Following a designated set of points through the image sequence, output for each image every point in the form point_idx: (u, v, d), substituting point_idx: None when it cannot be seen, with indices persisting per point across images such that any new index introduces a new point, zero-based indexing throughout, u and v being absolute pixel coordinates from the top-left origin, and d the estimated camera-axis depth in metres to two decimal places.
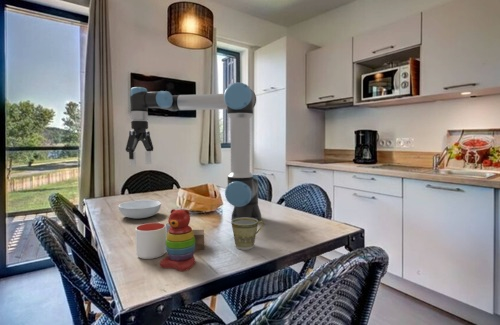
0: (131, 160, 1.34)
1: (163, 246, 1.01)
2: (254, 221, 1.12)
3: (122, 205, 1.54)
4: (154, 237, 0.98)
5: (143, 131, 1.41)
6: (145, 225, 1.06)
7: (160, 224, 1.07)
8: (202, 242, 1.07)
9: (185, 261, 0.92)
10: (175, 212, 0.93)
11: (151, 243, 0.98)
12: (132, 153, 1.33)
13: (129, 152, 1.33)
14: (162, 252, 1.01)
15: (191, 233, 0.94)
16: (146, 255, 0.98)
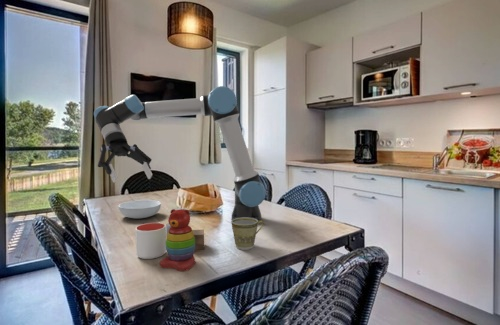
0: (111, 174, 1.05)
1: (163, 246, 1.01)
2: (254, 221, 1.12)
3: (122, 205, 1.54)
4: (154, 237, 0.98)
5: (122, 144, 1.16)
6: (145, 225, 1.06)
7: (160, 224, 1.07)
8: (202, 242, 1.07)
9: (185, 261, 0.92)
10: (175, 212, 0.93)
11: (151, 243, 0.98)
12: (107, 166, 1.05)
13: (104, 167, 1.05)
14: (162, 252, 1.01)
15: (191, 233, 0.94)
16: (146, 255, 0.98)
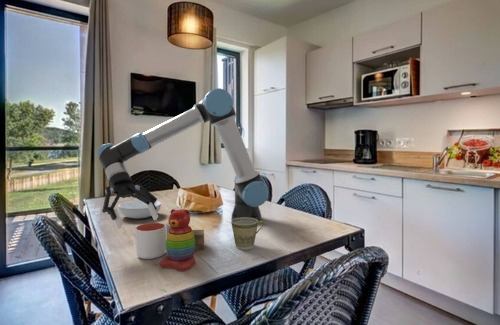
0: (116, 220, 1.02)
1: (163, 246, 1.01)
2: (254, 221, 1.12)
3: (122, 205, 1.54)
4: (154, 237, 0.98)
5: (127, 185, 1.13)
6: (145, 225, 1.06)
7: (160, 224, 1.07)
8: (202, 242, 1.07)
9: (185, 261, 0.92)
10: (175, 212, 0.93)
11: (151, 243, 0.98)
12: (112, 211, 1.02)
13: (109, 212, 1.02)
14: (162, 252, 1.01)
15: (191, 233, 0.94)
16: (146, 255, 0.98)
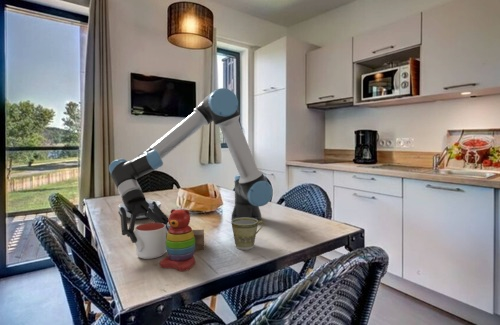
0: (136, 243, 0.98)
1: (163, 246, 1.01)
2: (254, 221, 1.12)
3: (122, 205, 1.54)
4: (154, 237, 0.98)
5: (141, 202, 1.08)
6: (145, 225, 1.06)
7: (160, 224, 1.07)
8: (202, 242, 1.07)
9: (185, 261, 0.92)
10: (175, 212, 0.93)
11: (151, 243, 0.98)
12: (132, 234, 0.98)
13: (129, 235, 0.98)
14: (162, 252, 1.01)
15: (191, 233, 0.94)
16: (146, 255, 0.98)
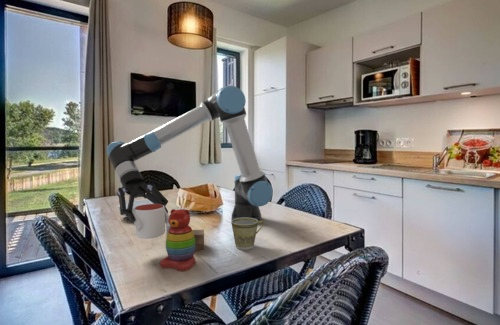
0: (135, 223, 0.97)
1: (162, 226, 1.01)
2: (254, 221, 1.12)
3: None
4: (153, 217, 0.98)
5: (139, 183, 1.08)
6: (144, 206, 1.05)
7: (159, 205, 1.06)
8: (202, 242, 1.07)
9: (185, 261, 0.92)
10: (175, 212, 0.93)
11: (150, 223, 0.97)
12: (131, 213, 0.97)
13: (127, 215, 0.98)
14: (161, 232, 1.00)
15: (191, 233, 0.94)
16: (145, 235, 0.97)
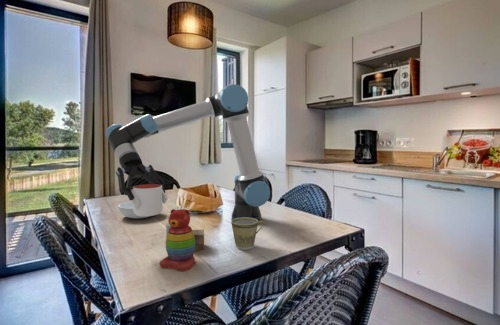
0: (134, 200, 1.01)
1: (159, 205, 1.05)
2: (254, 221, 1.12)
3: (122, 205, 1.54)
4: (151, 195, 1.01)
5: (137, 164, 1.11)
6: (142, 186, 1.09)
7: (156, 185, 1.10)
8: (202, 242, 1.07)
9: (185, 261, 0.92)
10: (175, 212, 0.93)
11: (148, 201, 1.01)
12: (129, 192, 1.01)
13: (126, 193, 1.02)
14: (158, 210, 1.04)
15: (191, 233, 0.94)
16: (143, 212, 1.01)
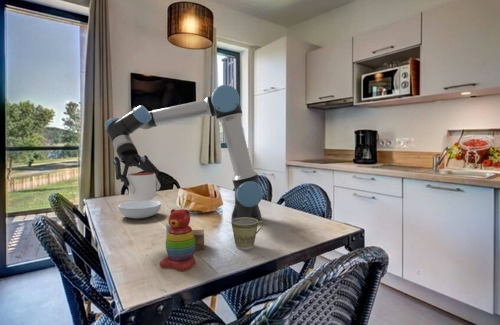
0: (129, 186, 1.10)
1: (153, 191, 1.14)
2: (254, 221, 1.12)
3: (122, 205, 1.54)
4: (144, 181, 1.11)
5: (133, 154, 1.21)
6: (137, 174, 1.18)
7: (150, 173, 1.19)
8: (202, 242, 1.07)
9: (185, 261, 0.92)
10: (175, 212, 0.93)
11: (142, 186, 1.10)
12: (125, 178, 1.10)
13: (122, 179, 1.11)
14: (152, 196, 1.13)
15: (191, 233, 0.94)
16: (137, 197, 1.10)
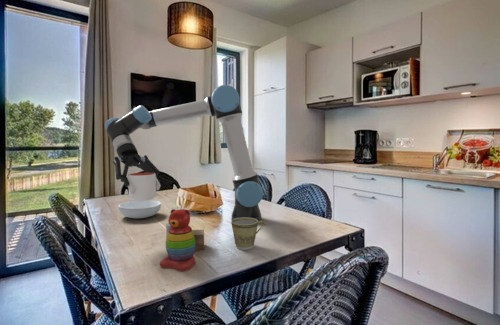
0: (129, 186, 1.10)
1: (153, 191, 1.14)
2: (254, 221, 1.12)
3: (122, 205, 1.54)
4: (144, 181, 1.11)
5: (133, 154, 1.21)
6: (137, 174, 1.18)
7: (150, 173, 1.19)
8: (202, 242, 1.07)
9: (185, 261, 0.92)
10: (175, 212, 0.93)
11: (142, 186, 1.10)
12: (125, 178, 1.10)
13: (122, 179, 1.11)
14: (152, 196, 1.13)
15: (191, 233, 0.94)
16: (137, 197, 1.10)
